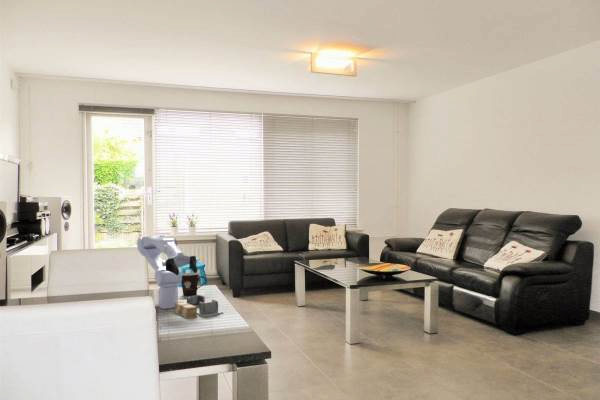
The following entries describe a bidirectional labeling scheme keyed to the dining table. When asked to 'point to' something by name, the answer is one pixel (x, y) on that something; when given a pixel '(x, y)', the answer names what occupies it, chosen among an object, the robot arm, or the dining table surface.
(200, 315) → the board
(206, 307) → the bracket
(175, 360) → the dining table surface
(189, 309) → the rail
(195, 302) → the bracket
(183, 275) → the coffee mug
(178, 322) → the dining table surface
